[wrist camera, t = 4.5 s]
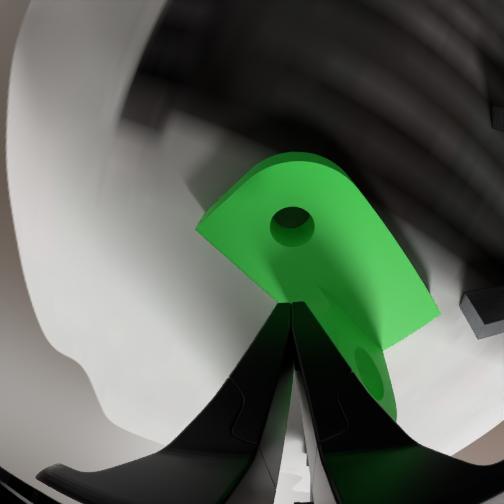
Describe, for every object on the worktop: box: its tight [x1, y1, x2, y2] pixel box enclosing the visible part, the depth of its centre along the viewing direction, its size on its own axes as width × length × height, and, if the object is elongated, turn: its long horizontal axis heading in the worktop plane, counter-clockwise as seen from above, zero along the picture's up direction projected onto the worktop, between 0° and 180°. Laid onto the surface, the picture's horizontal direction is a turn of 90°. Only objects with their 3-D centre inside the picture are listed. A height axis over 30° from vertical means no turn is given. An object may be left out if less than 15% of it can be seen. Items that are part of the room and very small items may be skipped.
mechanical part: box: [195, 152, 441, 422], centre depth 11 cm, size 12×6×8 cm, turn 45°
